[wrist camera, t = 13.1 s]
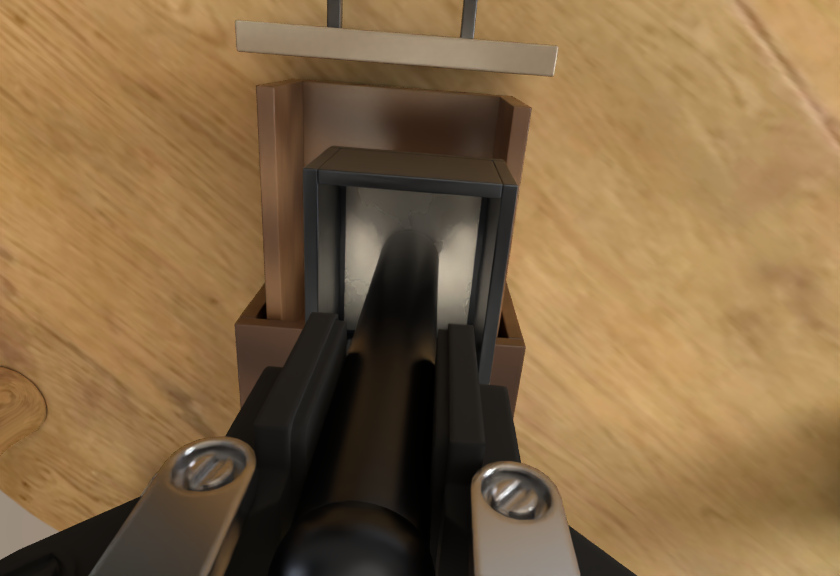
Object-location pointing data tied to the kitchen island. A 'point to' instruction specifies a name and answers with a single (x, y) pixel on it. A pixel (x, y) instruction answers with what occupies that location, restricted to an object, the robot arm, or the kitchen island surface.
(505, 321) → the cabinet
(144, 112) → the kitchen island surface
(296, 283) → the drawer
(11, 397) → the beer glass
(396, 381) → the black rod and box
